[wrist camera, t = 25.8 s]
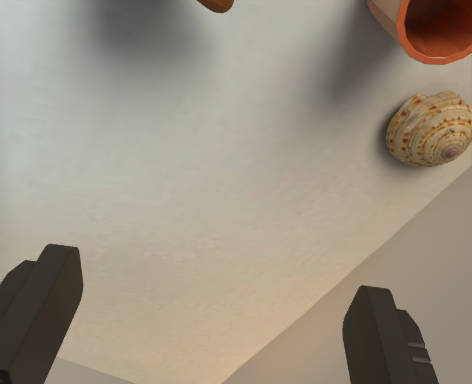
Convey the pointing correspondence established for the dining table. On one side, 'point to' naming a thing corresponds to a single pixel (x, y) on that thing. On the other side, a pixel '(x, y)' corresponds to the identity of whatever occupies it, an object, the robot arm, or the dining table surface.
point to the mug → (217, 5)
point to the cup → (427, 27)
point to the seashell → (430, 130)
